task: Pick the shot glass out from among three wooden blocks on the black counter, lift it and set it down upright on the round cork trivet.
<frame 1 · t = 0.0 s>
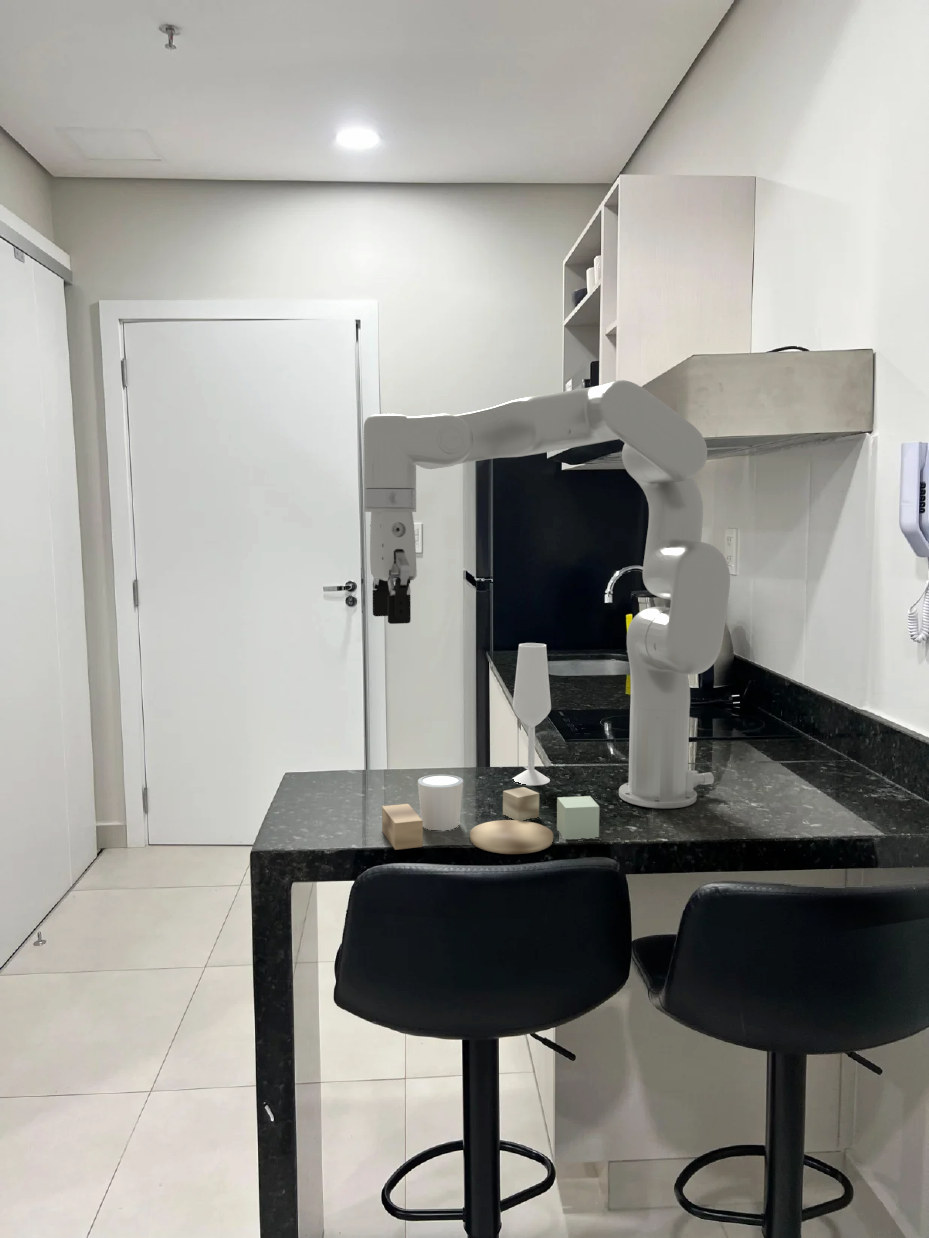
hand: (391, 619, 138), 31 cm above the countertop, tool pointing down, fingers open, 9 cm apart
birch cube: (520, 817, 146), on the countertop
oak brick: (402, 839, 136), on the countertop
champagne flute: (531, 781, 166), on the countertop
cork trivet: (511, 838, 136), on the countertop
shot glass: (440, 826, 142), on the countertop
sage painted cube: (577, 834, 138), on the countertop
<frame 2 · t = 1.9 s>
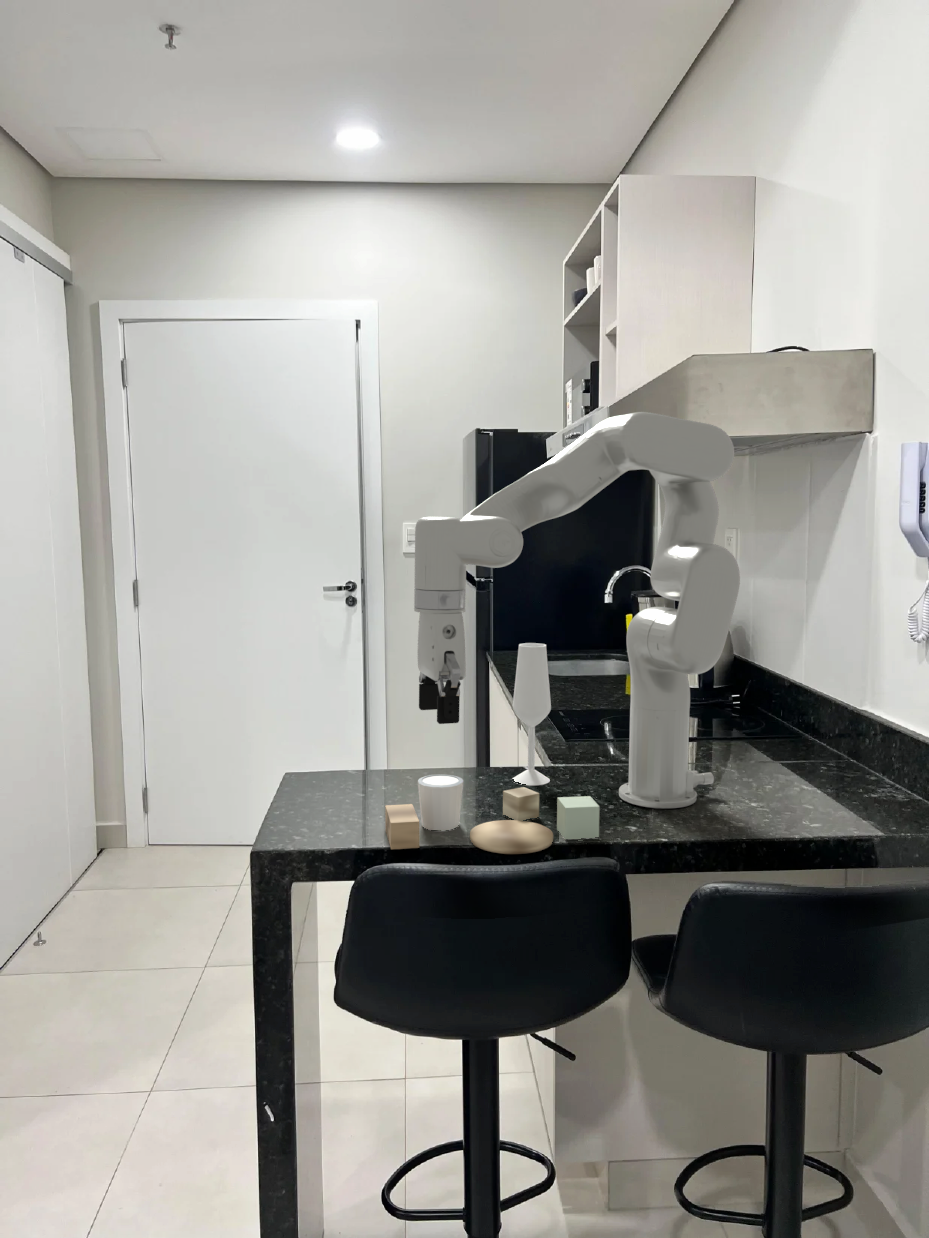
hand: (438, 716, 140), 17 cm above the countertop, tool pointing down, fingers open, 9 cm apart
nothing on the countertop moved.
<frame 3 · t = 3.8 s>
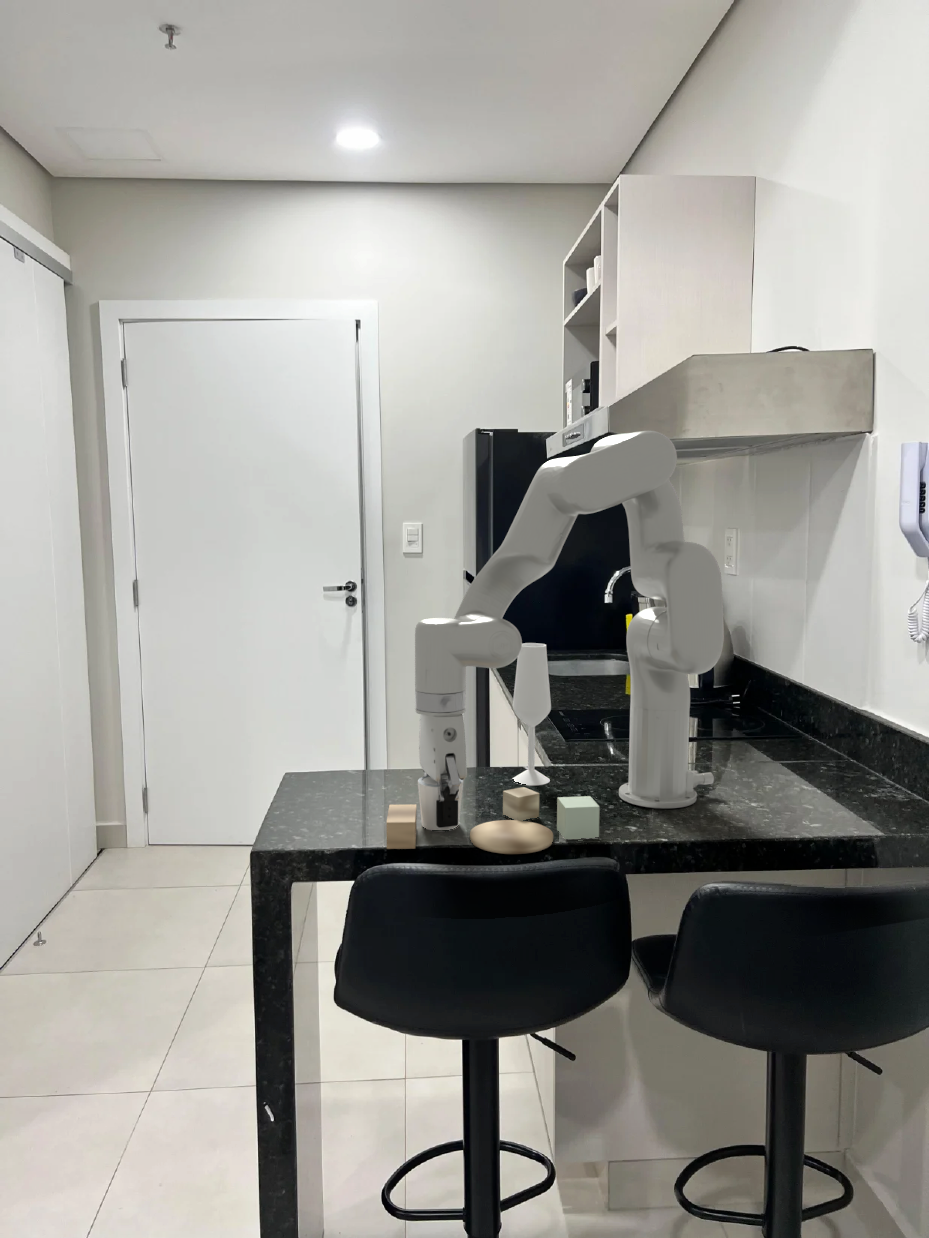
hand: (440, 817, 142), 1 cm above the countertop, tool pointing down, fingers closed on shot glass, 6 cm apart
shot glass: (440, 826, 142), on the countertop, touching gripper
everything else where it was.
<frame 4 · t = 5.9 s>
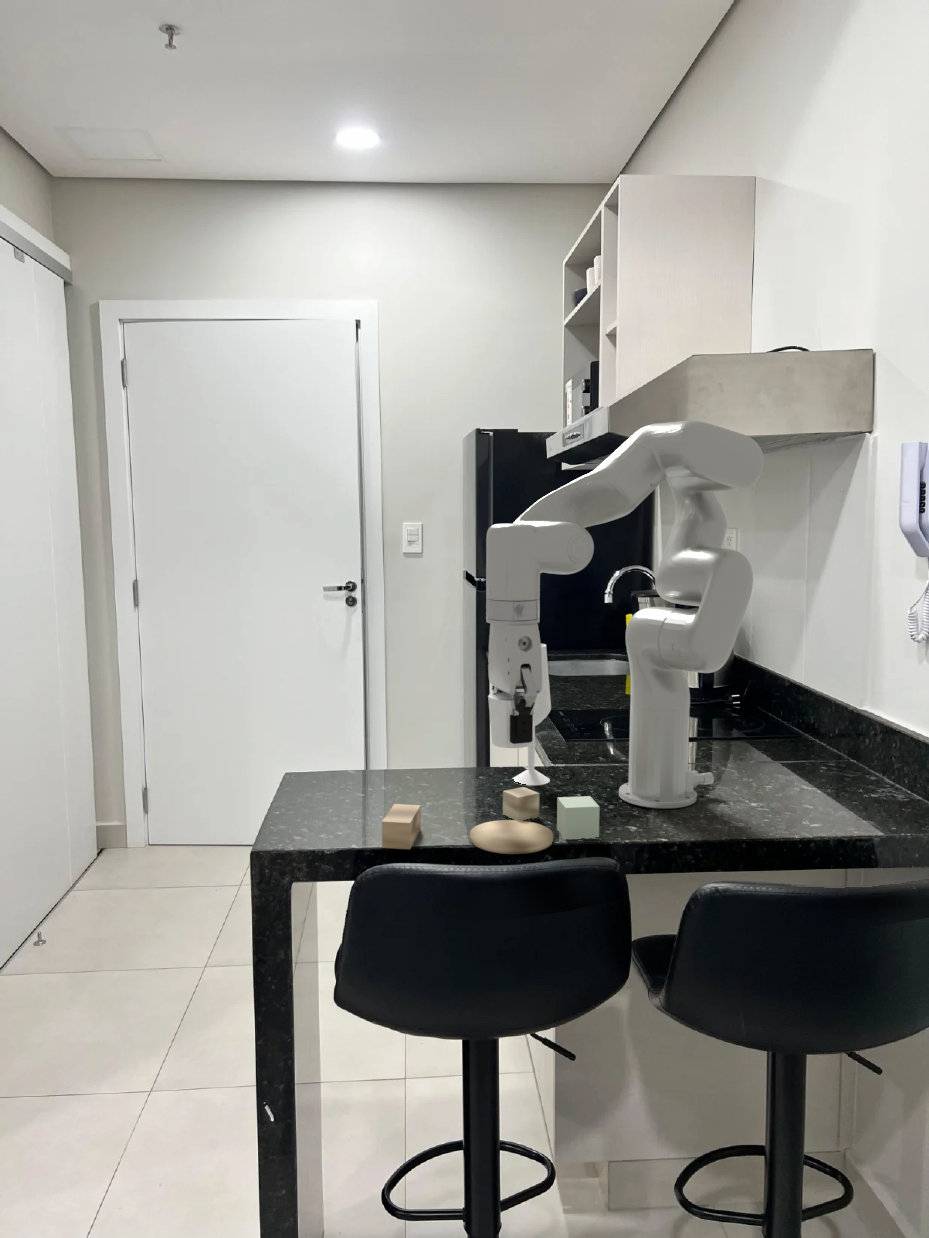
hand: (512, 735, 134), 15 cm above the countertop, tool pointing down, fingers closed on shot glass, 6 cm apart
shot glass: (512, 744, 134), point 14 cm above the countertop, touching gripper
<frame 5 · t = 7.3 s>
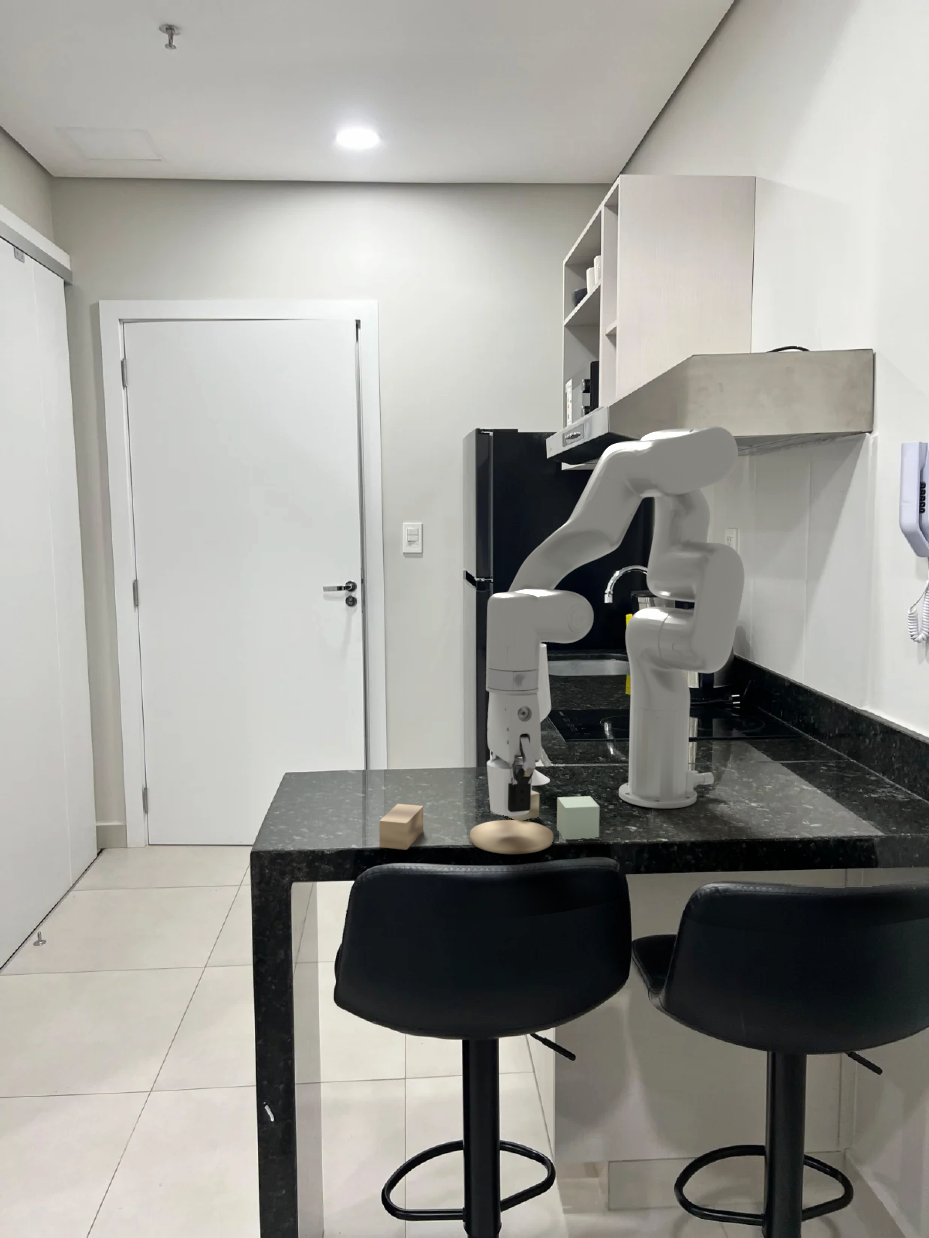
hand: (510, 802, 135), 5 cm above the countertop, tool pointing down, fingers closed on shot glass, 6 cm apart
shot glass: (509, 811, 135), point 4 cm above the countertop, touching gripper
when the fingers open (3 cm above the countertop, at t = 8.3 s): shot glass stays where it is, resting on cork trivet.
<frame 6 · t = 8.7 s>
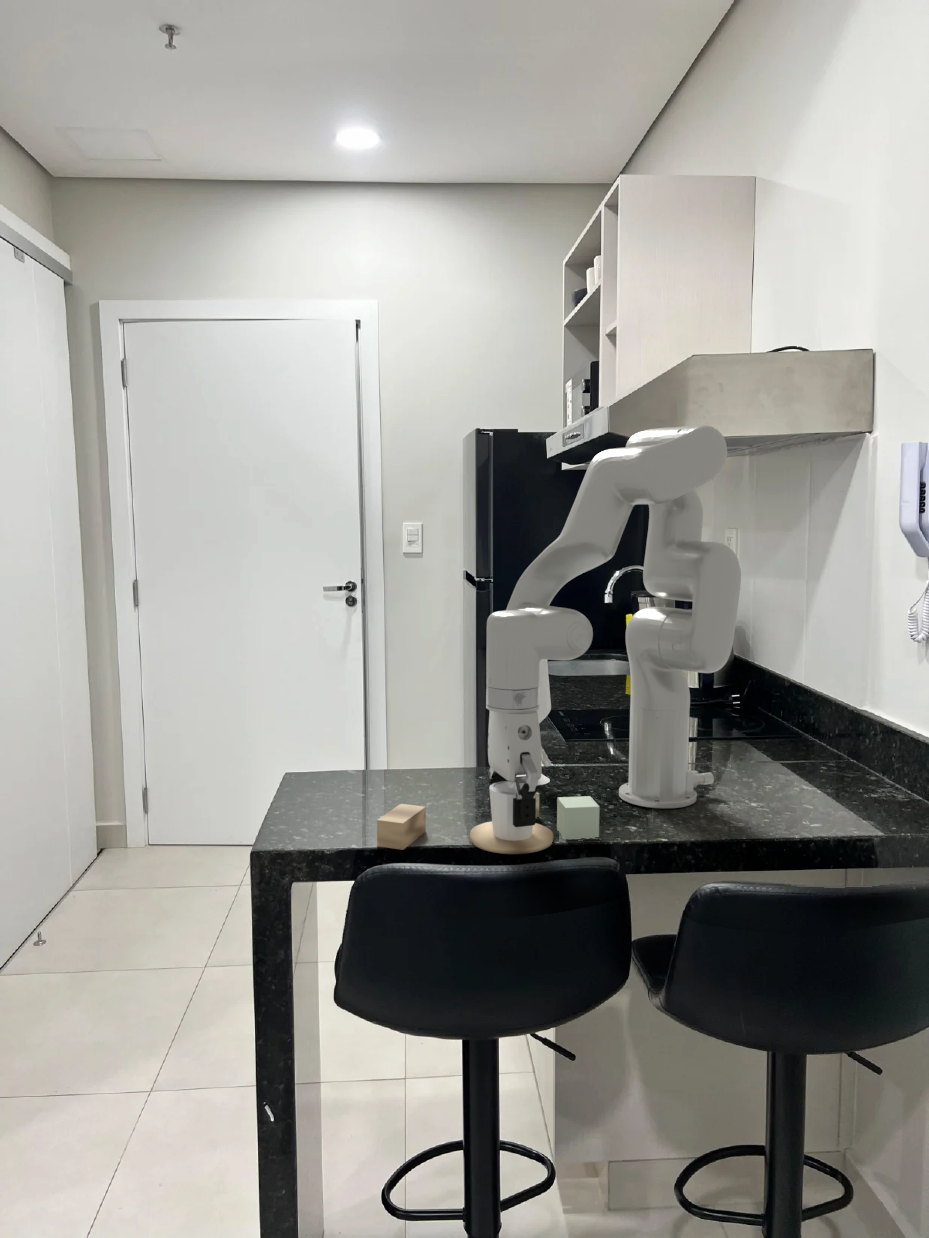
hand: (511, 814, 135), 4 cm above the countertop, tool pointing down, fingers open, 9 cm apart
shot glass: (512, 835, 136), point 1 cm above the countertop, touching cork trivet
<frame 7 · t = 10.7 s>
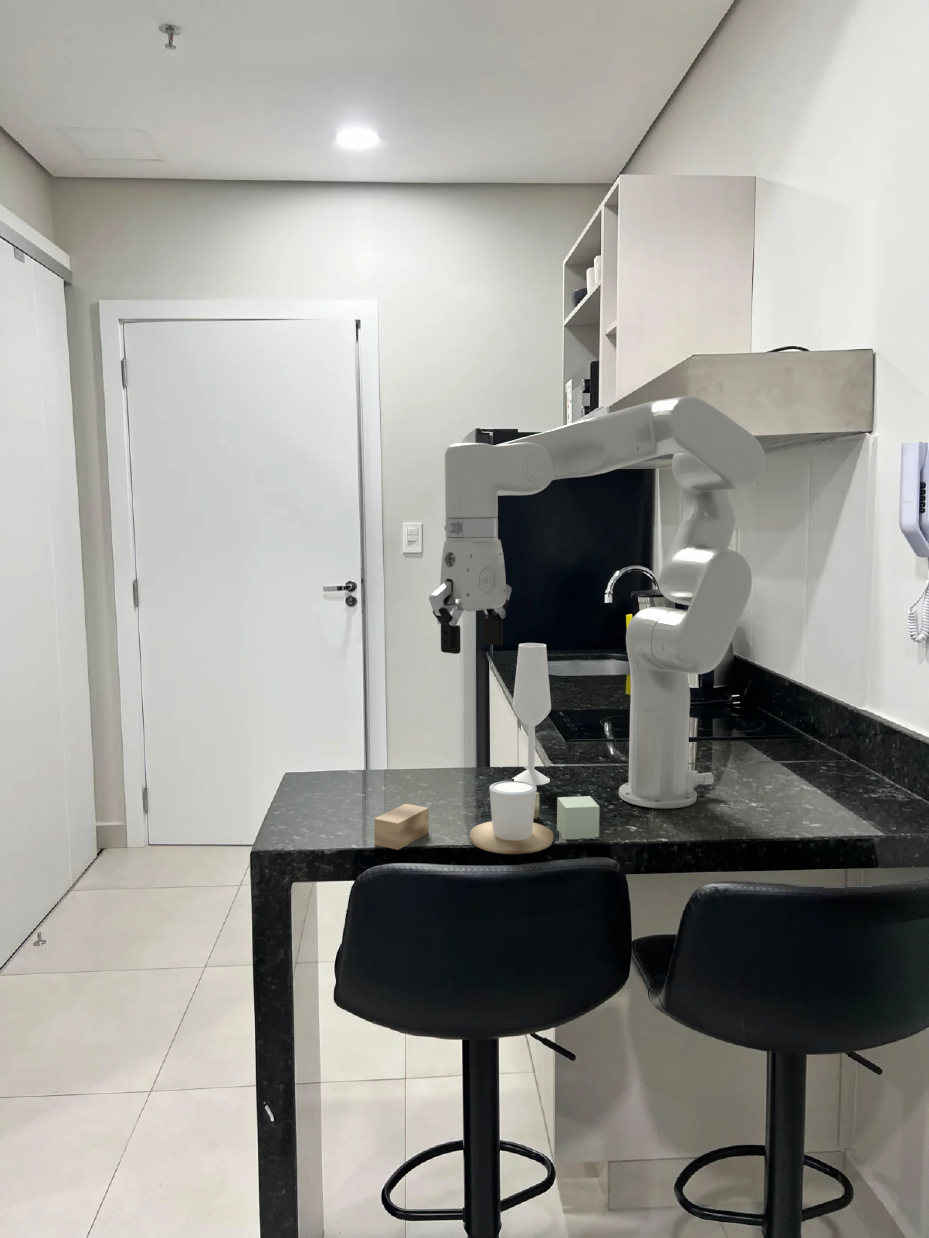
hand: (472, 648, 137), 27 cm above the countertop, tool pointing down, fingers open, 9 cm apart
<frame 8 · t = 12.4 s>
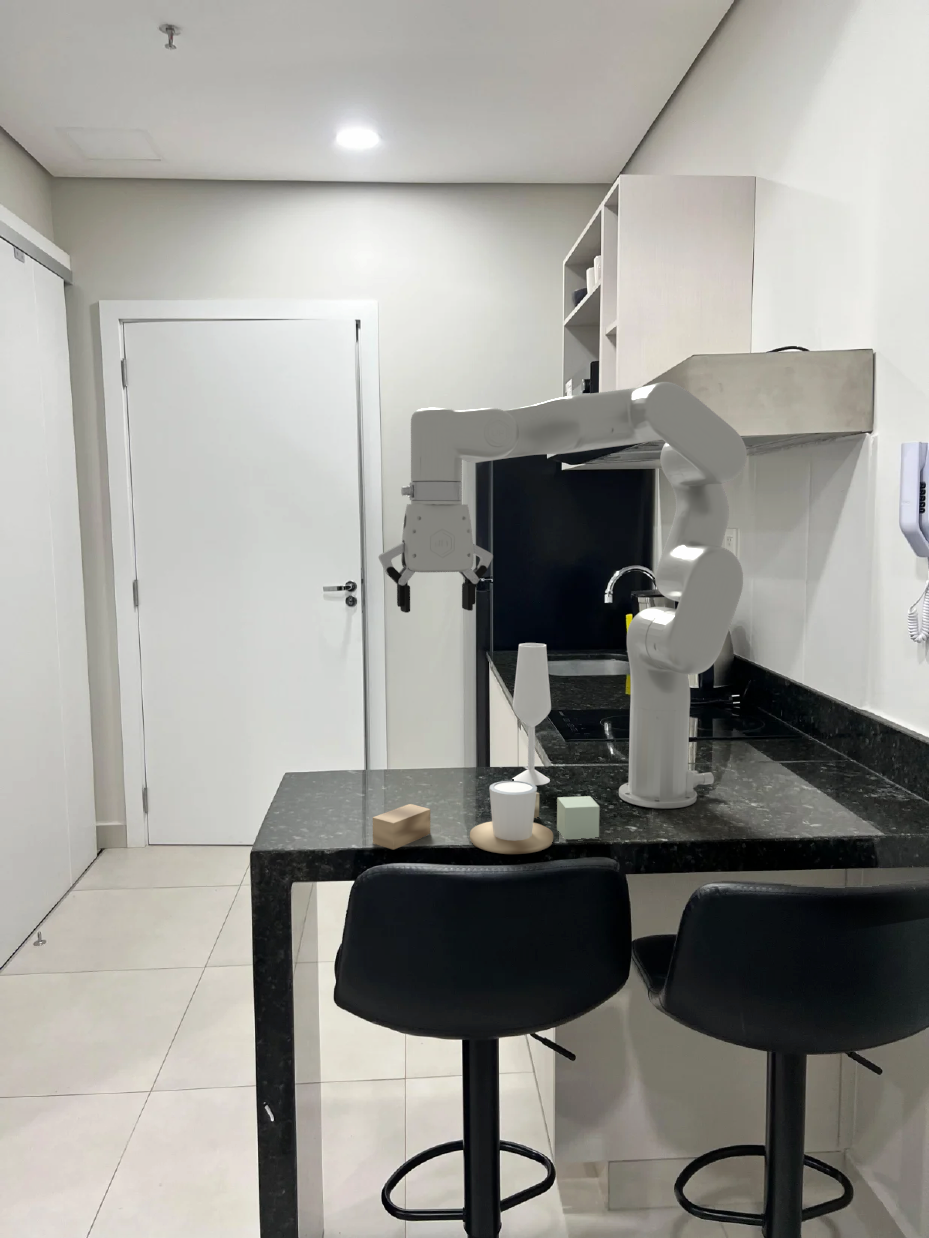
hand: (436, 610, 140), 32 cm above the countertop, tool pointing down, fingers open, 9 cm apart
at the end: shot glass 0.2 cm from the cork trivet (horizontally); shot glass tilted 0°; the gripper is holding nothing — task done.
